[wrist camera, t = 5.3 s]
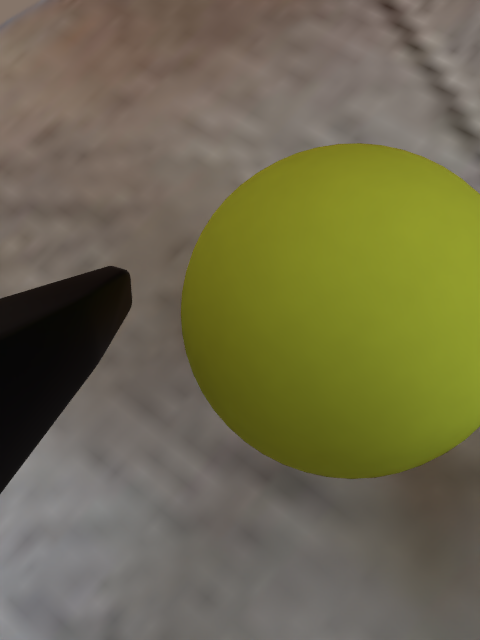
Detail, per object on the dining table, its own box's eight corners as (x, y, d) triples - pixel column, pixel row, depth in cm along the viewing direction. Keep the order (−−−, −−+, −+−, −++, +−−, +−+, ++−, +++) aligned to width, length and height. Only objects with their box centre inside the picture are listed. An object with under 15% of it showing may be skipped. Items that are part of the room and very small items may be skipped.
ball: (216, 441, 11) (121, 537, 5) (213, 228, 12) (127, 77, 6) (451, 442, 10) (693, 556, 4) (431, 213, 11) (610, 17, 5)
